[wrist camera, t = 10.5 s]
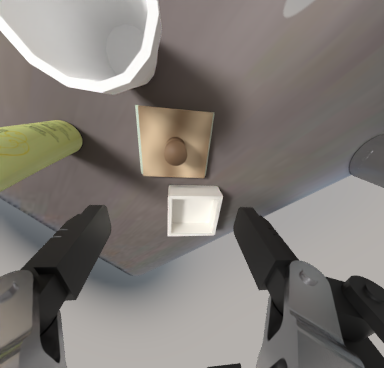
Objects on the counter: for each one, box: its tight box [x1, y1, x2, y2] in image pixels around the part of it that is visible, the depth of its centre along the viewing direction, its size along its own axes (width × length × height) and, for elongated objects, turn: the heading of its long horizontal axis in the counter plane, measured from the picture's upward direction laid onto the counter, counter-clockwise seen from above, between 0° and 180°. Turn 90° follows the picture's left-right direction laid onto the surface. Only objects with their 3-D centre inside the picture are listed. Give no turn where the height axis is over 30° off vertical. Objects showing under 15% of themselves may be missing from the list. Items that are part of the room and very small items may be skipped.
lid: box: [138, 106, 213, 178], centre depth 22 cm, size 11×11×5 cm
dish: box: [168, 185, 223, 236], centre depth 30 cm, size 10×10×4 cm
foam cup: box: [0, 0, 162, 95], centre depth 13 cm, size 10×9×13 cm
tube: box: [0, 120, 82, 192], centre depth 14 cm, size 6×5×20 cm
